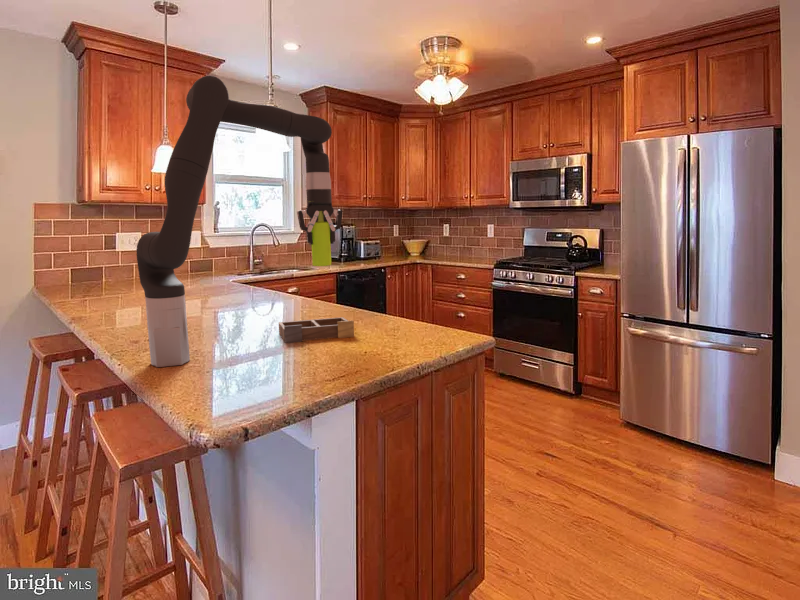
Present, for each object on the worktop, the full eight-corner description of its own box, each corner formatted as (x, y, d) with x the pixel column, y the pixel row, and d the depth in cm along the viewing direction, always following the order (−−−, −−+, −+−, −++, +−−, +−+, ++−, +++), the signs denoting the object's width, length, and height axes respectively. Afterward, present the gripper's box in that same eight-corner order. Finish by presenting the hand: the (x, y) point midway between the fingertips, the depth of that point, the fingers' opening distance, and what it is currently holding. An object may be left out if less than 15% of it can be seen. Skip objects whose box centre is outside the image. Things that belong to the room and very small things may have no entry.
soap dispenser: (306, 266, 159) (302, 200, 156) (319, 263, 165) (316, 200, 162) (322, 266, 156) (318, 199, 153) (335, 264, 162) (332, 199, 159)
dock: (354, 336, 160) (353, 320, 159) (285, 343, 152) (284, 326, 152) (343, 328, 172) (343, 313, 171) (279, 334, 165) (278, 318, 164)
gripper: (297, 187, 151) (300, 245, 154) (344, 187, 156) (347, 243, 159) (292, 189, 158) (295, 244, 161) (338, 188, 163) (340, 242, 166)
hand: (321, 243), depth 160 cm, fingers closed on soap dispenser, 6 cm apart
